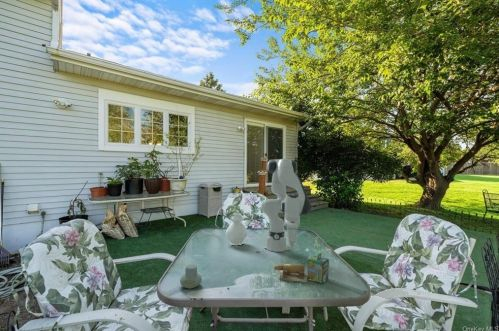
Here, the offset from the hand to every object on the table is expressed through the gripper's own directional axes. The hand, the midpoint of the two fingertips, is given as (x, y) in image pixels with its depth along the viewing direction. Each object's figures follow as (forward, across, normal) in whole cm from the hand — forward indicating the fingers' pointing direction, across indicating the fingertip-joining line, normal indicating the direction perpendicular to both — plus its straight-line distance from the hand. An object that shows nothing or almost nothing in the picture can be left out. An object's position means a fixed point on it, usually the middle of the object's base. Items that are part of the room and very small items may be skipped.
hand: (291, 246), depth 143 cm
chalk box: (+18, 0, +15) cm, 23 cm away
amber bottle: (+14, -2, -1) cm, 15 cm away
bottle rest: (+18, 0, +1) cm, 18 cm away
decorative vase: (+19, -57, -43) cm, 73 cm away
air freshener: (+18, +21, -52) cm, 59 cm away
